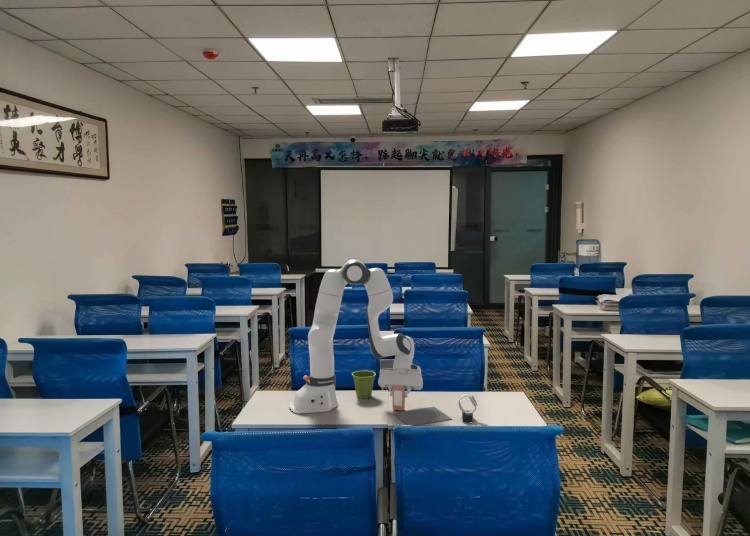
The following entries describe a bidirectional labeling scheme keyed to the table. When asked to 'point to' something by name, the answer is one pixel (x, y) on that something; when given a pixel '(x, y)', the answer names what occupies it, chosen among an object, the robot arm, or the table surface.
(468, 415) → the watch
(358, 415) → the table surface
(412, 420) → the mat
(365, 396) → the plant pot
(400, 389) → the block
